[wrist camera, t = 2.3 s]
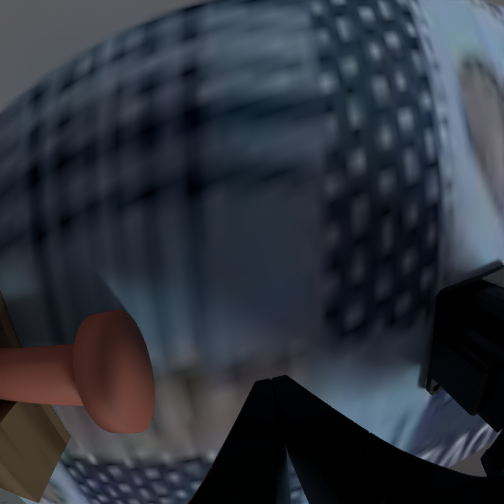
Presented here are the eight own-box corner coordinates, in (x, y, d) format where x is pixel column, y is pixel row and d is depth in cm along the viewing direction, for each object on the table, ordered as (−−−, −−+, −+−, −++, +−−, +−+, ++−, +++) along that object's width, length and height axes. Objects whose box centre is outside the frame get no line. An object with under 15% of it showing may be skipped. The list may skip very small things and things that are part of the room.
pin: (128, 293, 11) (82, 346, 6) (161, 384, 12) (141, 457, 7) (-16, 316, 10) (-66, 350, 6) (16, 387, 11) (-21, 431, 7)
